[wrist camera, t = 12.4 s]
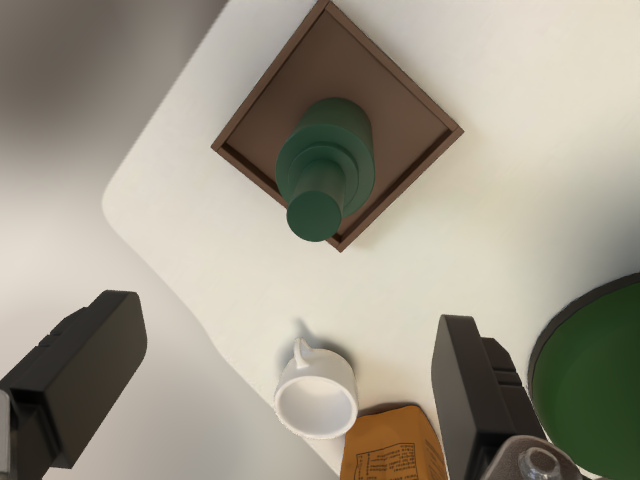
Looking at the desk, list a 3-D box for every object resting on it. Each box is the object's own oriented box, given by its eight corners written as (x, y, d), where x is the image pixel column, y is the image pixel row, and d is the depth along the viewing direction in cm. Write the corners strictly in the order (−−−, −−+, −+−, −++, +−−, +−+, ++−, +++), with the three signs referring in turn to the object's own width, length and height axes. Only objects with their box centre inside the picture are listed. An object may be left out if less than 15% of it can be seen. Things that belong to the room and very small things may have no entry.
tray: (217, 141, 35) (209, 147, 33) (325, -5, 29) (323, -7, 28) (341, 242, 37) (340, 253, 36) (459, 125, 32) (464, 131, 31)
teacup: (367, 389, 45) (368, 433, 40) (297, 401, 46) (289, 444, 41) (339, 311, 41) (336, 349, 36) (264, 327, 42) (251, 365, 37)
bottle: (285, 119, 33) (224, 190, 18) (351, 82, 31) (341, 128, 17) (320, 182, 35) (290, 290, 20) (384, 151, 33) (401, 243, 19)
